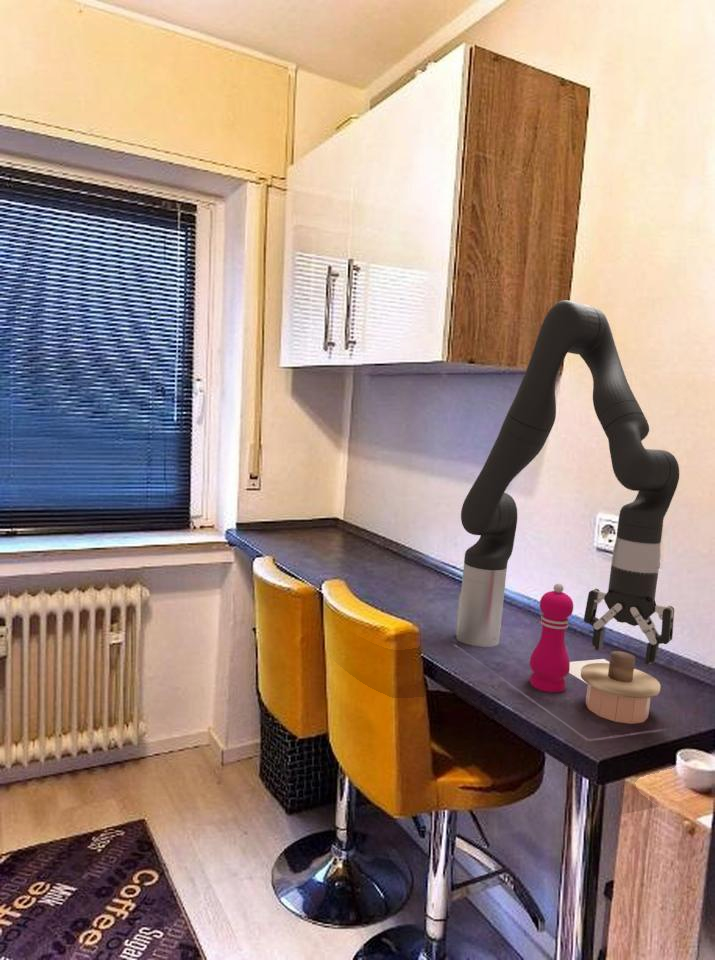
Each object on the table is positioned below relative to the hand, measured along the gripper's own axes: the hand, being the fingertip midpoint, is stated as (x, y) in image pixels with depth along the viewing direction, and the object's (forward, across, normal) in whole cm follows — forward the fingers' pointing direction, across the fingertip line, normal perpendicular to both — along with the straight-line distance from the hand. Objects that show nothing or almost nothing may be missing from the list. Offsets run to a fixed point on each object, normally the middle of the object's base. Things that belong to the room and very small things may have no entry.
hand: (623, 656), depth 119 cm
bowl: (+10, 0, 0) cm, 10 cm away
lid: (+5, 0, 0) cm, 5 cm away
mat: (+10, -8, +15) cm, 20 cm away
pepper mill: (+10, -13, +1) cm, 17 cm away
